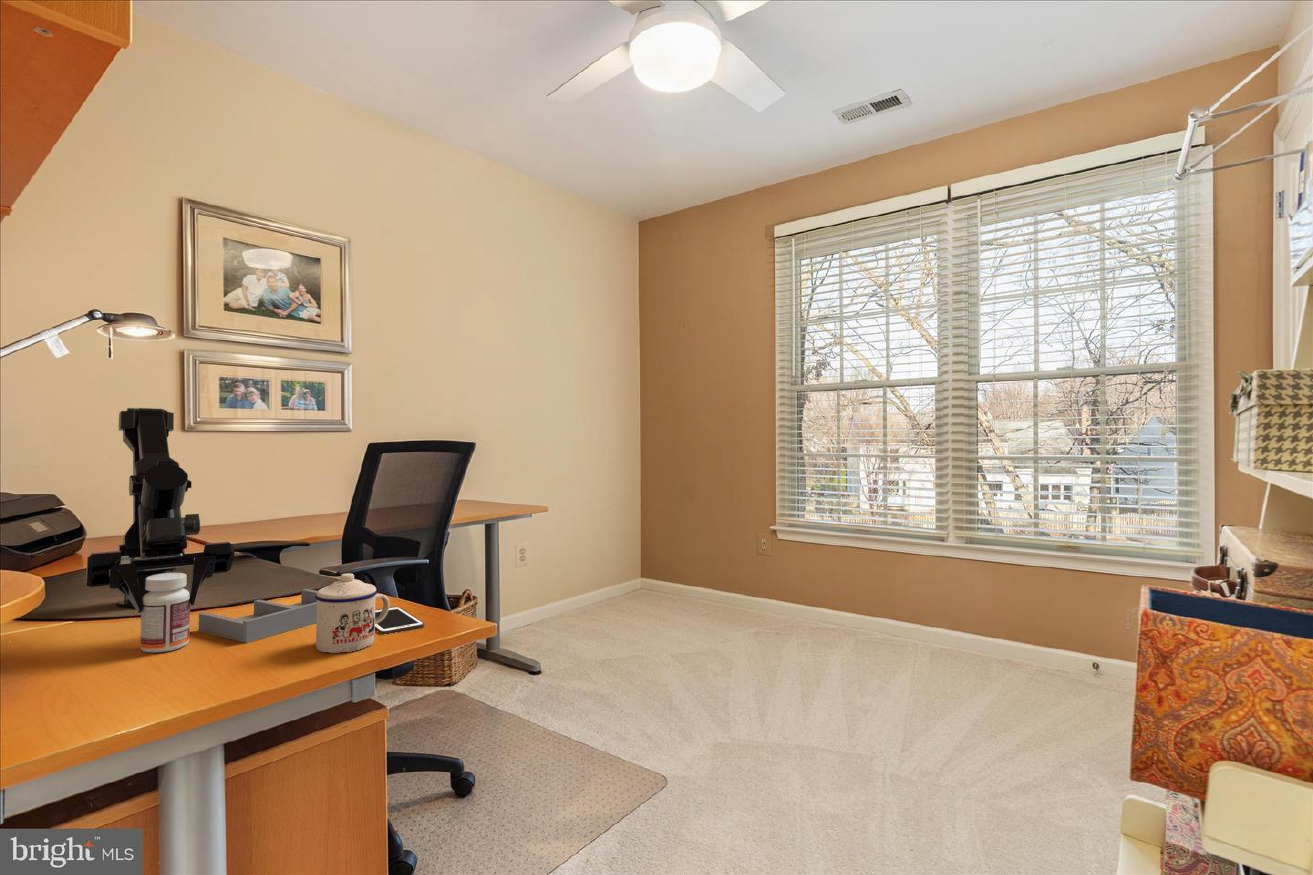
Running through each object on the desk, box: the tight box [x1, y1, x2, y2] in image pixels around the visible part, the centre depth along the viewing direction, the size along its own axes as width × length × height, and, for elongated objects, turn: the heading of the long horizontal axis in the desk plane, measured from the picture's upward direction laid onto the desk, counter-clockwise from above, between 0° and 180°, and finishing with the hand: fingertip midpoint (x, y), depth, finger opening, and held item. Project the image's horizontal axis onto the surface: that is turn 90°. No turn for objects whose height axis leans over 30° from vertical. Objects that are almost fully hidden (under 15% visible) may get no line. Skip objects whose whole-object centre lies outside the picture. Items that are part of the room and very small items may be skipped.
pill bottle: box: [140, 572, 191, 653], centre depth 99 cm, size 6×6×11 cm
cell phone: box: [375, 606, 425, 635], centre depth 116 cm, size 8×15×1 cm, turn 41°
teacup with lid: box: [315, 573, 391, 654], centre depth 104 cm, size 12×9×12 cm
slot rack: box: [198, 588, 319, 644], centre depth 114 cm, size 13×20×4 cm, turn 156°
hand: (167, 607), depth 98 cm, fingers closed on pill bottle, 6 cm apart
